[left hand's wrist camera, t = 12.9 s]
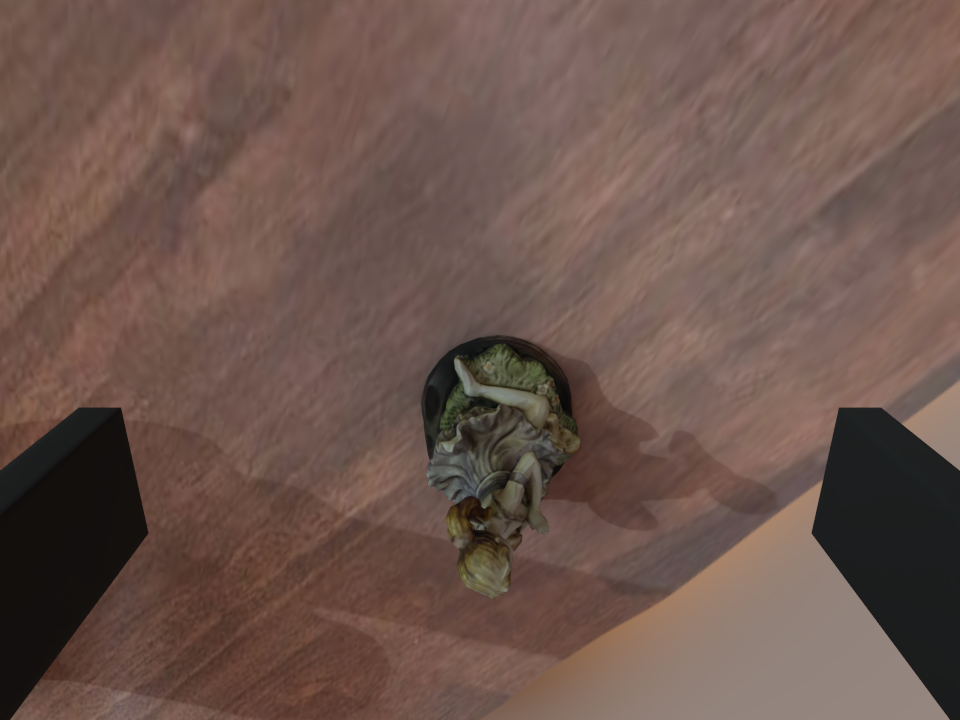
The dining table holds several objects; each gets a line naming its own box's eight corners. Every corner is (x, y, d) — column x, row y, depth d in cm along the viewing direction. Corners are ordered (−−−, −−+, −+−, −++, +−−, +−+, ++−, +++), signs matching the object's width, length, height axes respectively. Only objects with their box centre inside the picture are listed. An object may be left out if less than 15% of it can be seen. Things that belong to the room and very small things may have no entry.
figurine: (539, 514, 48) (563, 686, 34) (394, 468, 47) (358, 628, 33) (608, 369, 44) (667, 499, 30) (450, 315, 43) (436, 424, 29)
